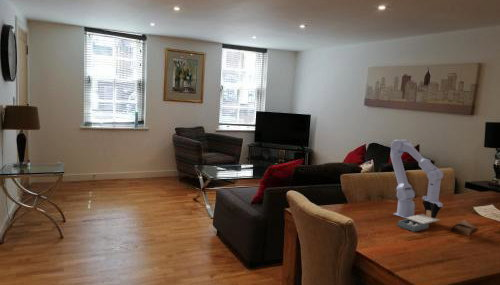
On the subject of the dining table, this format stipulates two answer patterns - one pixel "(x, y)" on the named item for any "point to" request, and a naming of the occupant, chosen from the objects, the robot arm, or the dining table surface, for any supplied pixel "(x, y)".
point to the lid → (423, 218)
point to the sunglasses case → (463, 228)
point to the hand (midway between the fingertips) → (430, 216)
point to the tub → (412, 225)
